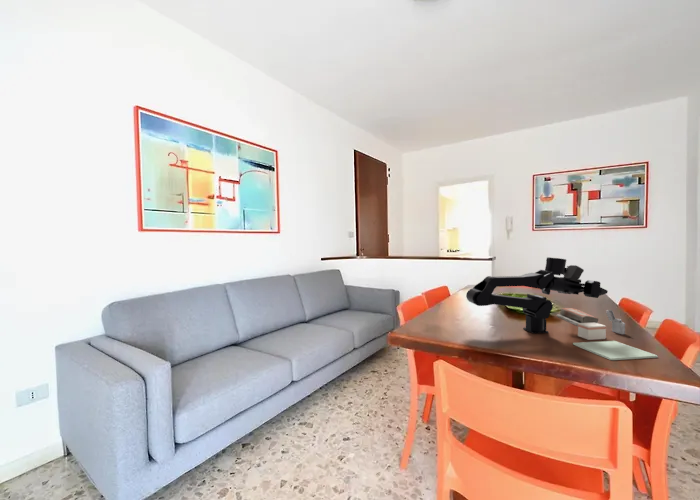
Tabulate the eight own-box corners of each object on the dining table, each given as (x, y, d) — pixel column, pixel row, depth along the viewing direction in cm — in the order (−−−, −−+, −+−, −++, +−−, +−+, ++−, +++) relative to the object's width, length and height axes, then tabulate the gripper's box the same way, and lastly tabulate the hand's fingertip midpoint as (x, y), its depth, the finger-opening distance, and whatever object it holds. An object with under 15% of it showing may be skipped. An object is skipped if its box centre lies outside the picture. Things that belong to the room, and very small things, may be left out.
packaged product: (555, 307, 145) (578, 307, 144) (555, 317, 146) (578, 317, 144) (579, 316, 128) (605, 317, 126) (579, 328, 128) (605, 328, 127)
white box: (588, 340, 112) (588, 326, 112) (577, 336, 117) (577, 323, 117) (605, 339, 113) (606, 325, 113) (594, 335, 118) (594, 322, 117)
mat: (611, 360, 94) (611, 358, 94) (573, 344, 108) (573, 342, 108) (657, 357, 95) (657, 355, 95) (614, 342, 109) (614, 340, 109)
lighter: (625, 334, 118) (625, 313, 118) (620, 334, 118) (621, 313, 118) (609, 328, 125) (609, 309, 125) (605, 328, 125) (605, 309, 125)
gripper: (581, 264, 114) (621, 271, 115) (546, 264, 133) (581, 270, 133) (577, 294, 113) (617, 301, 114) (543, 290, 132) (577, 295, 133)
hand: (597, 290), depth 124 cm, fingers open, 9 cm apart
